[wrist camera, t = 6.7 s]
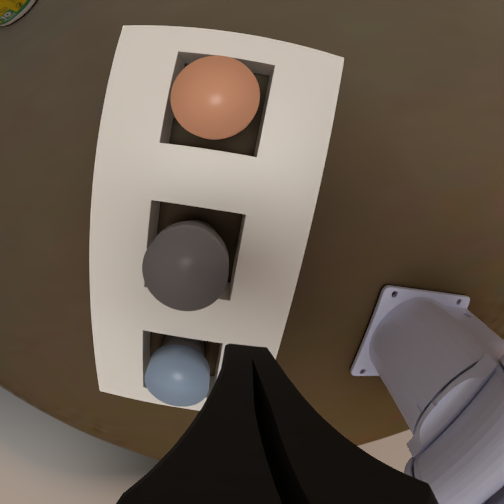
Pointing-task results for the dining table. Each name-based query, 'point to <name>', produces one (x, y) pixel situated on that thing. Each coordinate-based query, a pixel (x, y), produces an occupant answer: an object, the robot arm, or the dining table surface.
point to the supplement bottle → (13, 10)
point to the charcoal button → (186, 266)
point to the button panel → (202, 195)
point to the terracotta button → (215, 97)
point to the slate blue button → (178, 372)
